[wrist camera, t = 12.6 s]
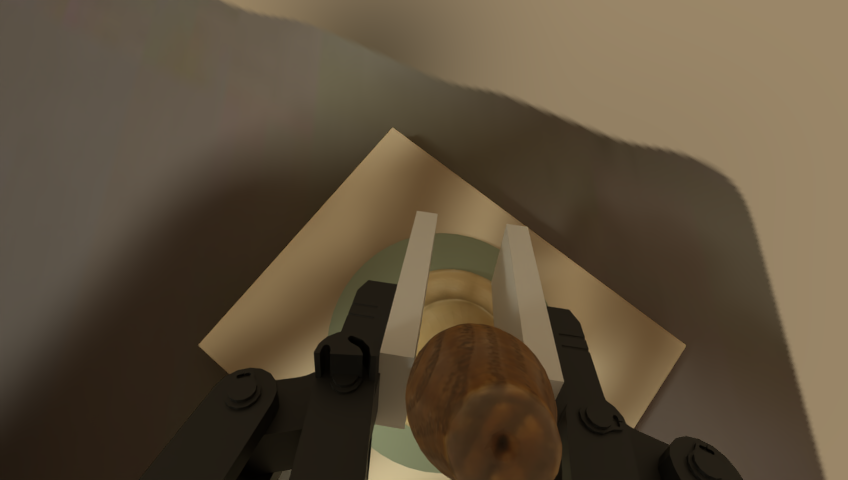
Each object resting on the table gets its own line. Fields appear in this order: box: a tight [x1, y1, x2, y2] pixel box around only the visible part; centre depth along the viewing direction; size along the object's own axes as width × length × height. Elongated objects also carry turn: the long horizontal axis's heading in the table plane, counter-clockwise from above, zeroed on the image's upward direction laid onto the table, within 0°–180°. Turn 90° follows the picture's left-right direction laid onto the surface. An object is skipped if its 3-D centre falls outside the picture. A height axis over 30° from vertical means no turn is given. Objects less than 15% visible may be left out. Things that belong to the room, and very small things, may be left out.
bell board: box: [198, 127, 686, 480], centre depth 21 cm, size 20×16×2 cm
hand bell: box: [405, 269, 562, 480], centre depth 12 cm, size 8×8×16 cm
